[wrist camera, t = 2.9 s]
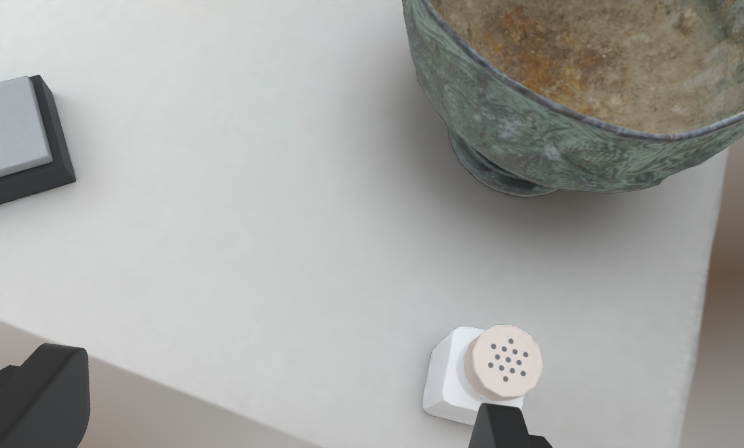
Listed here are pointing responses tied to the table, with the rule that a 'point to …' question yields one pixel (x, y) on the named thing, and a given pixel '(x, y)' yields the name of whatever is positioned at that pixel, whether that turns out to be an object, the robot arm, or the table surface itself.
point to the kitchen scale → (30, 140)
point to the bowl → (581, 87)
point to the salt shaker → (480, 371)
